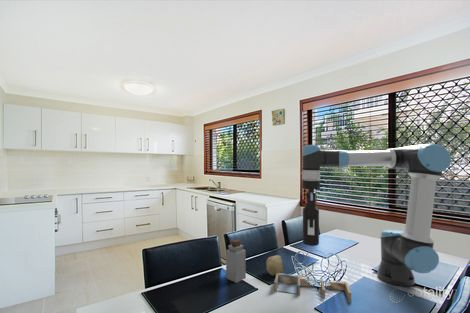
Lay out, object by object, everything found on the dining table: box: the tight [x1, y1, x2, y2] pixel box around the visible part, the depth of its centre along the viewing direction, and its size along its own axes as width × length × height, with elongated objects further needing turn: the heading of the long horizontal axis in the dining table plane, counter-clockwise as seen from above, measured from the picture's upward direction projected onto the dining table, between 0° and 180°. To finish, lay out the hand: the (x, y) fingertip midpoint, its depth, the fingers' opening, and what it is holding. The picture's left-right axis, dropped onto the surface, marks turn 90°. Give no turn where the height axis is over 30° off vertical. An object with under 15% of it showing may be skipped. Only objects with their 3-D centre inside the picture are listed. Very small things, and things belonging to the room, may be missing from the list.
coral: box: [265, 254, 285, 277], centre depth 124 cm, size 10×10×10 cm
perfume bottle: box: [225, 239, 247, 284], centre depth 120 cm, size 7×7×18 cm
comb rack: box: [273, 273, 352, 303], centre depth 108 cm, size 31×10×4 cm, turn 75°
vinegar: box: [302, 197, 320, 247], centre depth 108 cm, size 7×7×20 cm
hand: (310, 232), depth 108 cm, fingers closed on vinegar, 6 cm apart
